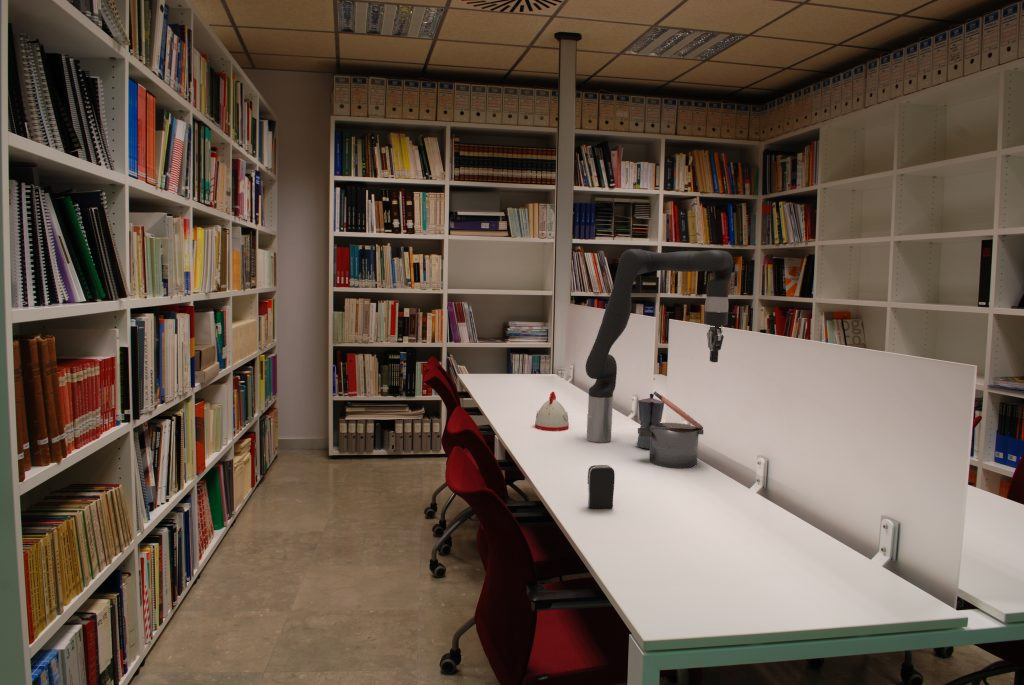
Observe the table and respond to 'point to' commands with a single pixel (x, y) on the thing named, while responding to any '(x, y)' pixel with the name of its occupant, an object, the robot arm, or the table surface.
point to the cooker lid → (678, 411)
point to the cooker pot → (672, 444)
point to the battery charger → (600, 486)
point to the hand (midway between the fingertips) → (713, 361)
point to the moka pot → (649, 417)
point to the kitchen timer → (552, 416)
